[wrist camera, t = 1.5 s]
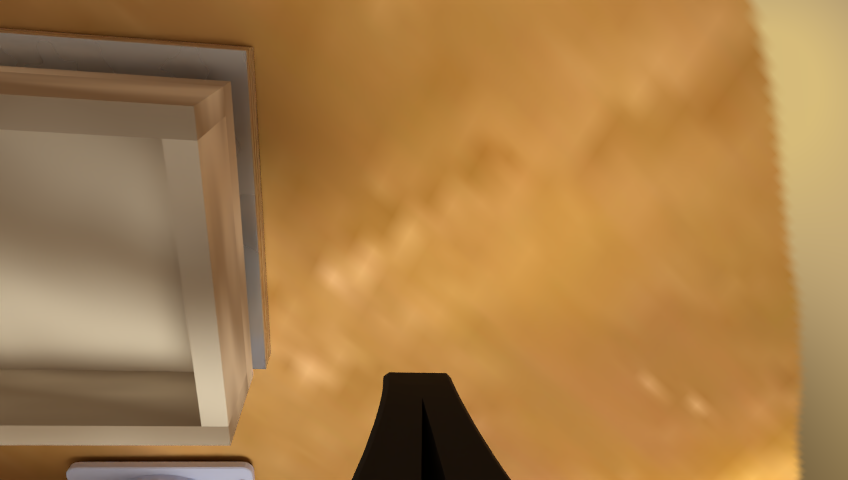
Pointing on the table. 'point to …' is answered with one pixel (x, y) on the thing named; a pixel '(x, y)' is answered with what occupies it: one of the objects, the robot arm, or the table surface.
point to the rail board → (176, 63)
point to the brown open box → (120, 261)
